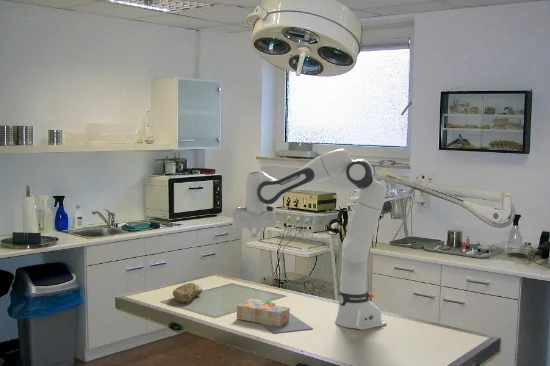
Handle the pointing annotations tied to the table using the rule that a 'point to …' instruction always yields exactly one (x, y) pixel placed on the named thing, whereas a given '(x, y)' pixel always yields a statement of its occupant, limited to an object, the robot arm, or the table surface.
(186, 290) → the brown rock
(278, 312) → the stack of blocks
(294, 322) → the mat
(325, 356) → the table surface
